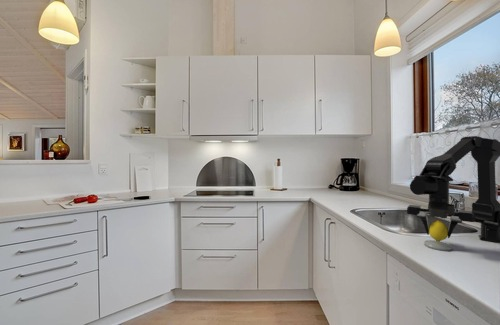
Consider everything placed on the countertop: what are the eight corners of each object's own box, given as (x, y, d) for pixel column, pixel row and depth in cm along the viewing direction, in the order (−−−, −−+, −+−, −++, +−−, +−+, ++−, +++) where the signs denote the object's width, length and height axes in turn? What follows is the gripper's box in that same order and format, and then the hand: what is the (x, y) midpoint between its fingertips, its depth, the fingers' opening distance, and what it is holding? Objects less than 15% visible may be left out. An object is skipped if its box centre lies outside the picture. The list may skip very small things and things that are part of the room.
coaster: (424, 241, 91) (424, 238, 91) (451, 246, 86) (451, 243, 86) (423, 247, 85) (423, 244, 85) (452, 253, 80) (452, 250, 80)
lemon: (439, 238, 89) (439, 217, 88) (452, 244, 83) (452, 221, 83) (424, 239, 88) (425, 218, 88) (437, 244, 83) (437, 222, 83)
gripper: (405, 193, 85) (404, 236, 86) (476, 199, 73) (475, 249, 74) (408, 190, 94) (408, 229, 94) (473, 195, 82) (472, 239, 82)
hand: (438, 236), depth 86 cm, fingers closed on lemon, 5 cm apart
